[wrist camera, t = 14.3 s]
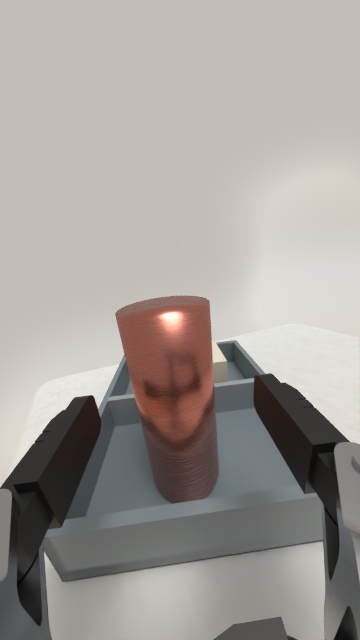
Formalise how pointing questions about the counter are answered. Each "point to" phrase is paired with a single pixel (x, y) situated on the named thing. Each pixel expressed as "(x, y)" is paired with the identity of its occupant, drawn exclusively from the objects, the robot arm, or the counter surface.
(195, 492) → the copper cylinder
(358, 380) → the counter surface
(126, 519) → the tray
